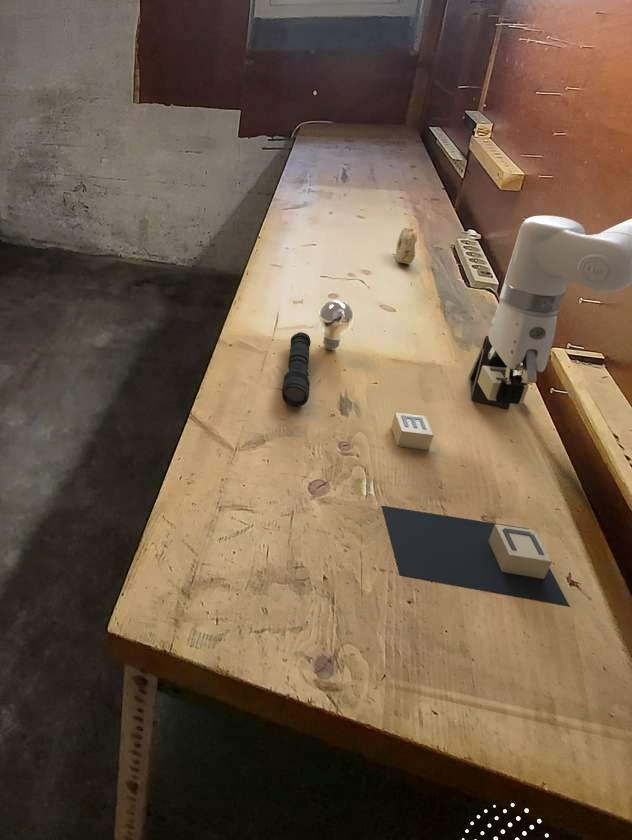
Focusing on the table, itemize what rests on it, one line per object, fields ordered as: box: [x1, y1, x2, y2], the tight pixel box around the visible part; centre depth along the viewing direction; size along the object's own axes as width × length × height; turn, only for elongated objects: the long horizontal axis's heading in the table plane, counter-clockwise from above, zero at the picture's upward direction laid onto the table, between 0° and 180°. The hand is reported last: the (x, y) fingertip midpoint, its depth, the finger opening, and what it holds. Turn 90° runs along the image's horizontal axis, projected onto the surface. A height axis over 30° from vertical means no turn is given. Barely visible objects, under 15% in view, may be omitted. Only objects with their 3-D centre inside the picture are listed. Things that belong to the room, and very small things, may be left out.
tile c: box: [489, 523, 553, 579], centre depth 77 cm, size 5×5×4 cm
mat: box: [380, 505, 570, 608], centre depth 79 cm, size 20×12×1 cm, turn 76°
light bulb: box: [318, 299, 355, 351], centre depth 123 cm, size 7×7×12 cm
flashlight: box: [281, 331, 312, 407], centre depth 116 cm, size 5×21×5 cm, turn 159°
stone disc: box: [395, 227, 418, 265], centre depth 162 cm, size 10×4×10 cm, turn 161°
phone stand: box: [469, 335, 521, 410], centre depth 108 cm, size 9×6×12 cm, turn 150°
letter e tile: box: [390, 412, 434, 451], centre depth 99 cm, size 5×5×4 cm
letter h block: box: [478, 366, 529, 404], centre depth 94 cm, size 5×5×4 cm
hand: (500, 390), depth 94 cm, fingers closed on letter h block, 5 cm apart
